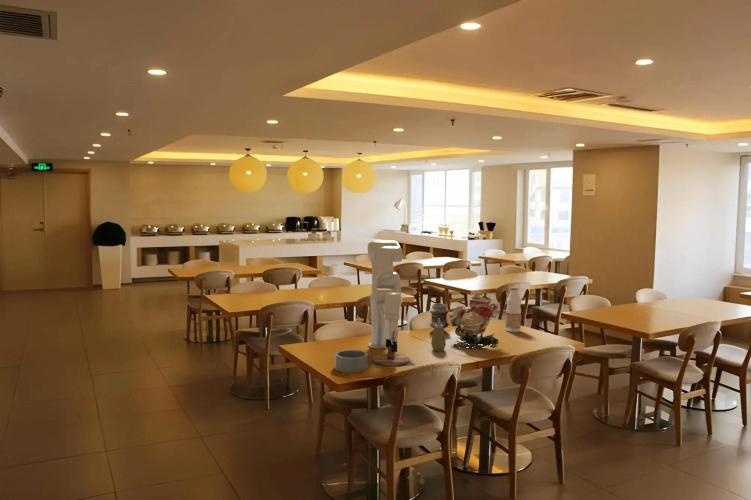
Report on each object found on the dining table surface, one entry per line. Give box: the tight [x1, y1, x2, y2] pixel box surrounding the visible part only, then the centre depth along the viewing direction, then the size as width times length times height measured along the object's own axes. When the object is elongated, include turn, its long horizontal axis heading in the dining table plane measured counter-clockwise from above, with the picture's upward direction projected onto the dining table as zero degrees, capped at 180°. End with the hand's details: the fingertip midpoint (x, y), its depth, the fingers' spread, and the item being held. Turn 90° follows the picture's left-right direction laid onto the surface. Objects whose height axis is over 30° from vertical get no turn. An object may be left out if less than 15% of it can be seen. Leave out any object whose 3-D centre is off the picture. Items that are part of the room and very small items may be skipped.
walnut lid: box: [373, 346, 411, 367], centre depth 293 cm, size 19×19×7 cm
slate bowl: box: [334, 349, 369, 374], centre depth 282 cm, size 16×16×7 cm
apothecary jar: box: [429, 303, 450, 335], centre depth 359 cm, size 12×12×18 cm
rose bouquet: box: [448, 293, 499, 350], centre depth 330 cm, size 26×29×30 cm
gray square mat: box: [368, 354, 416, 369], centre depth 293 cm, size 20×20×1 cm
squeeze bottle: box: [431, 318, 447, 352], centre depth 317 cm, size 8×8×18 cm
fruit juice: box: [505, 286, 522, 333], centre depth 366 cm, size 9×9×28 cm
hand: (391, 349), depth 292 cm, fingers open, 9 cm apart
